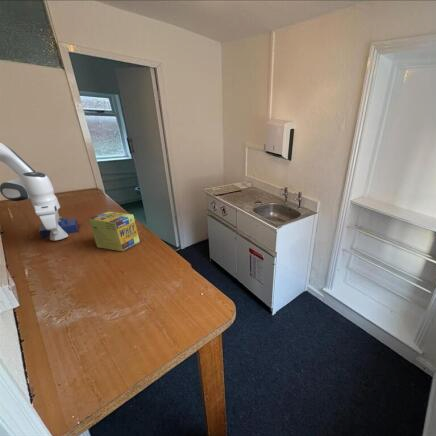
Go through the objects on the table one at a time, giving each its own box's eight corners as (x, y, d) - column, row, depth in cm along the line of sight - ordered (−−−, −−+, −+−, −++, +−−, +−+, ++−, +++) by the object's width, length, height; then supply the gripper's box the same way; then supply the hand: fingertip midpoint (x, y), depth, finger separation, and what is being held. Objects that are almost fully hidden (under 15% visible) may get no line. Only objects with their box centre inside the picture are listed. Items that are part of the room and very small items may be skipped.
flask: (64, 233, 124) (57, 216, 120) (71, 236, 121) (65, 218, 117) (46, 238, 118) (39, 220, 114) (53, 242, 115) (46, 224, 111)
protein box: (123, 251, 111) (115, 222, 105) (96, 247, 114) (87, 218, 108) (140, 241, 121) (134, 214, 115) (115, 237, 123) (107, 210, 117)
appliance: (42, 238, 120) (37, 227, 118) (44, 230, 128) (40, 220, 125) (77, 231, 128) (74, 221, 126) (78, 224, 136) (74, 215, 134)
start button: (52, 222, 125) (51, 219, 124) (53, 220, 127) (52, 217, 127) (62, 220, 127) (61, 218, 126) (63, 218, 130) (61, 215, 129)
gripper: (40, 201, 118) (49, 225, 123) (34, 213, 104) (46, 240, 109) (57, 199, 122) (65, 222, 127) (54, 210, 107) (64, 237, 113)
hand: (56, 231), depth 118 cm, fingers closed on flask, 5 cm apart
